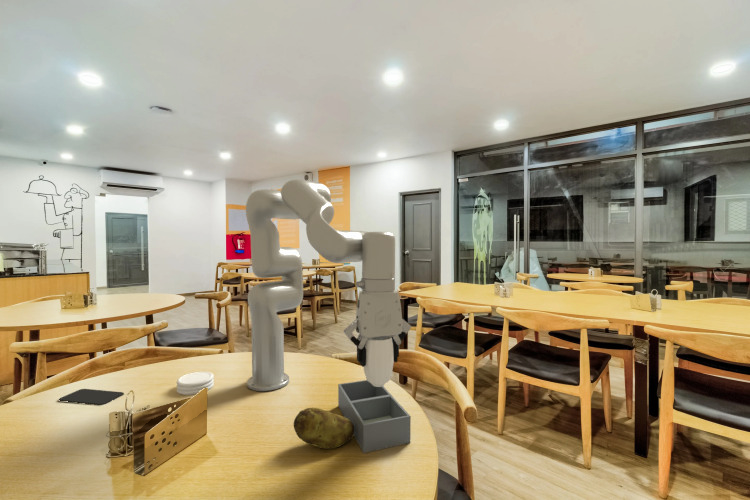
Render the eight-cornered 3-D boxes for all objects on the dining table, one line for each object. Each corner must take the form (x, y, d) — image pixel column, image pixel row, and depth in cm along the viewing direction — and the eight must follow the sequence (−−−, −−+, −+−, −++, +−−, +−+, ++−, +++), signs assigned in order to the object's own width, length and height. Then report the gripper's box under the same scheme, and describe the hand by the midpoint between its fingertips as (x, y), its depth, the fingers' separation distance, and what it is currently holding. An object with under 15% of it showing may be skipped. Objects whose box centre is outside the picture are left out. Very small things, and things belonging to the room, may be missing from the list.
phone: (102, 404, 95) (55, 399, 98) (102, 407, 95) (56, 402, 98) (126, 392, 103) (82, 388, 105) (126, 395, 103) (82, 391, 105)
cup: (374, 413, 87) (374, 330, 86) (399, 422, 82) (400, 335, 81) (356, 426, 81) (356, 337, 80) (381, 437, 77) (382, 343, 76)
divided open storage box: (338, 405, 95) (338, 384, 95) (376, 399, 99) (376, 378, 99) (363, 452, 75) (363, 425, 74) (410, 442, 78) (410, 416, 78)
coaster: (215, 380, 113) (215, 369, 113) (211, 393, 104) (211, 381, 103) (180, 384, 110) (180, 373, 110) (173, 398, 100) (173, 385, 100)
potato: (350, 457, 73) (350, 419, 73) (290, 455, 74) (289, 417, 74) (355, 434, 81) (355, 400, 81) (300, 433, 82) (300, 399, 82)
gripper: (346, 290, 74) (345, 373, 75) (420, 286, 80) (419, 363, 80) (337, 285, 81) (337, 361, 82) (406, 282, 87) (405, 352, 87)
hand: (378, 361), depth 81 cm, fingers closed on cup, 7 cm apart
